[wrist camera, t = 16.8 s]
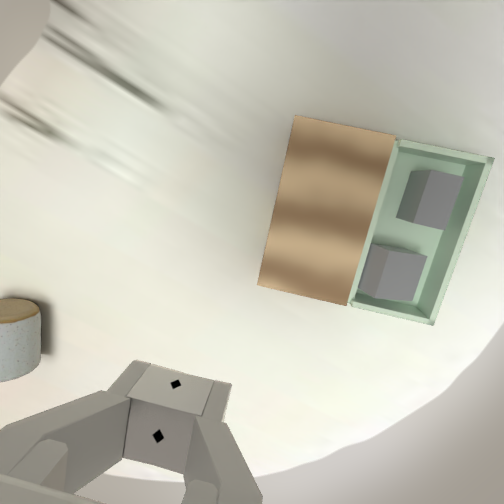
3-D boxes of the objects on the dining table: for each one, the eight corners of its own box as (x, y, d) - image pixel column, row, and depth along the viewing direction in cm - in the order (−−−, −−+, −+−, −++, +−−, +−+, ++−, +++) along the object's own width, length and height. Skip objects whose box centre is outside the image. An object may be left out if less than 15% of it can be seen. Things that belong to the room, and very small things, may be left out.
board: (294, 120, 35) (294, 115, 32) (387, 139, 34) (396, 135, 32) (259, 277, 39) (256, 285, 36) (341, 296, 39) (346, 306, 36)
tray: (385, 143, 35) (398, 138, 31) (470, 160, 34) (494, 158, 30) (342, 293, 38) (348, 306, 35) (418, 311, 38) (433, 325, 34)
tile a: (431, 169, 30) (464, 177, 29) (410, 171, 34) (439, 177, 34) (412, 223, 31) (444, 230, 31) (395, 217, 36) (423, 223, 35)
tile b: (369, 242, 34) (389, 250, 32) (405, 248, 36) (427, 256, 33) (356, 287, 35) (374, 298, 33) (392, 290, 37) (412, 301, 35)
